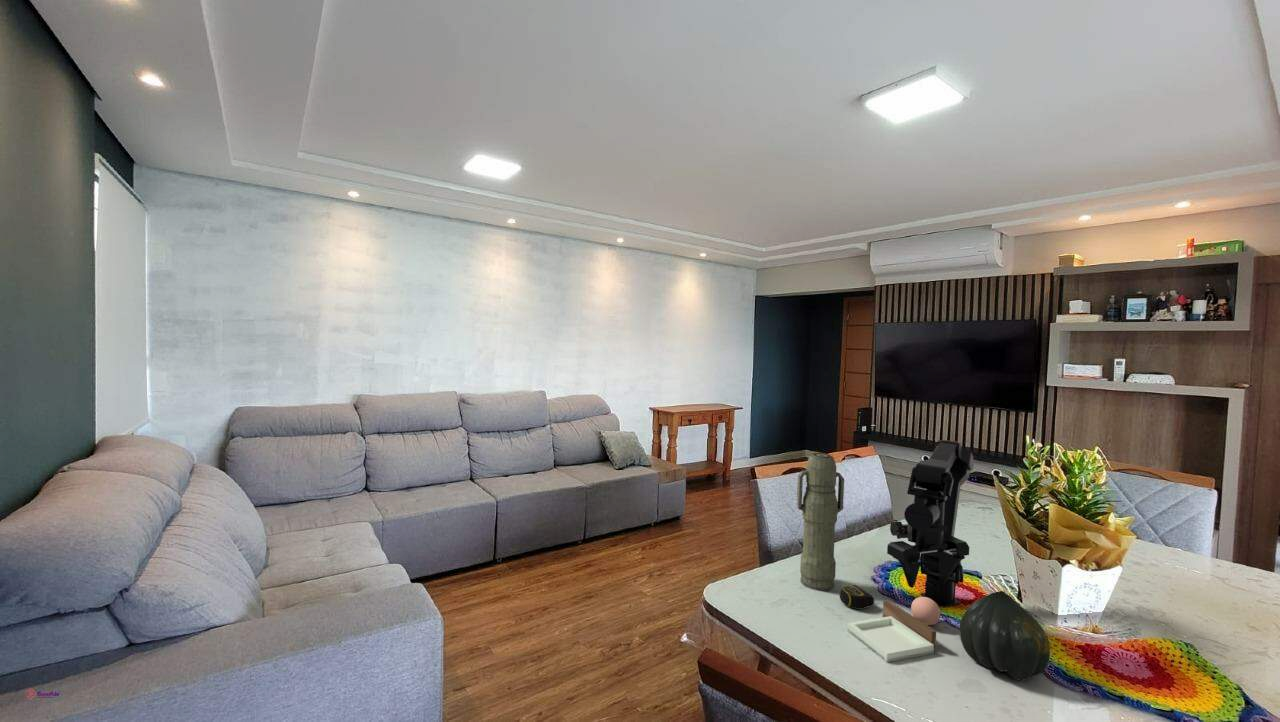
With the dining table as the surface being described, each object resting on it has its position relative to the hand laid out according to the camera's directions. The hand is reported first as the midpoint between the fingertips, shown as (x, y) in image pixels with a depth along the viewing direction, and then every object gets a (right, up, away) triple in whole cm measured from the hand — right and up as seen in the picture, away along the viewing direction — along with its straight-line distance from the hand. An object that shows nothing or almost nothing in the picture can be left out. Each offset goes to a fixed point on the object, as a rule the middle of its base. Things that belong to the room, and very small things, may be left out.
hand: (926, 584), depth 122 cm
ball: (0, -9, 0) cm, 9 cm away
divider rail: (-6, -9, -4) cm, 12 cm away
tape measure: (-13, -9, +9) cm, 18 cm away
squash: (+7, -10, -15) cm, 19 cm away
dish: (-12, -9, -8) cm, 17 cm away
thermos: (-19, -8, +20) cm, 28 cm away
